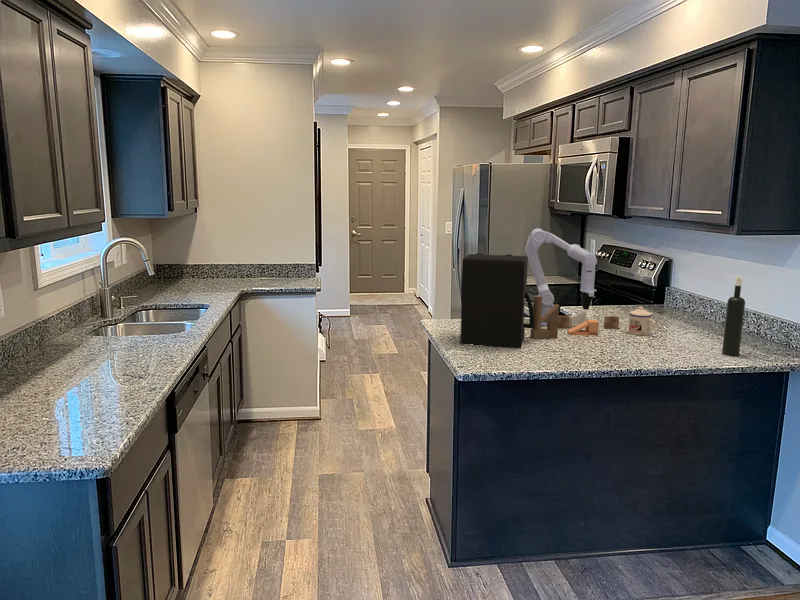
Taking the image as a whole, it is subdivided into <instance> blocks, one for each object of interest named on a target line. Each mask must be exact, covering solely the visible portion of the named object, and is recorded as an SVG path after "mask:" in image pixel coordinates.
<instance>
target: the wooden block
mask: <svg viewBox="0 0 800 600" xmlns="http://www.w3.org/2000/svg"><path fill="white" fill-rule="evenodd" d="M532 305H533V311H534V328H530V334H529V335H530V338H531V339H533V340H543V339H545V338H548V339H550V338H553V339H558V331H559V328H558V319H559V316H560V314H559V313H560V305H559V304H558V303H555V304H554V306H553V307H552V308H551V309H550V310H549V311H548V312H547V313H546V314H545V315H544V316H543V317H542V318H541V315H542V296H539V295H538V294H537V295H533V301H532ZM541 322H547V325H546V329H545V328H542V325H541Z"/></svg>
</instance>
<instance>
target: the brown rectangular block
mask: <svg viewBox="0 0 800 600" xmlns="http://www.w3.org/2000/svg"><path fill="white" fill-rule="evenodd" d="M570 316H571V315H559V319H558V329H566V328H569V329H570V327H569V322H570ZM603 322H604V323H603V329H604V328H605V330H618V329H619V324H620V316H619V315H604V321H603ZM612 328H613V329H612Z"/></svg>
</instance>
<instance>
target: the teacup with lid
mask: <svg viewBox="0 0 800 600" xmlns="http://www.w3.org/2000/svg"><path fill="white" fill-rule="evenodd" d="M652 316H653V315H652V313H651V312H650V311H647V310H646V309H644V306H638V308H637V309H634V310H631V311H630V312H629V321H628V322H629V323H628V334H630V335H633V334H634V336H640V335H641V336H644V335H646V336H649V335H650V333H651V331H653V330H654V329H655V327H656V322H655V320H654V319H652ZM651 323H652V326H651Z"/></svg>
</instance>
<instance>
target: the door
mask: <svg viewBox="0 0 800 600" xmlns="http://www.w3.org/2000/svg"><path fill="white" fill-rule="evenodd" d="M569 316H570V321H569V328H571V327H572V328H573V327H574V326H577V325H579V324H581V323H583V322H585V321H586V320H587V311H583V310H582V311H581V312H579V313H576V314H573V315H569Z"/></svg>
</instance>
